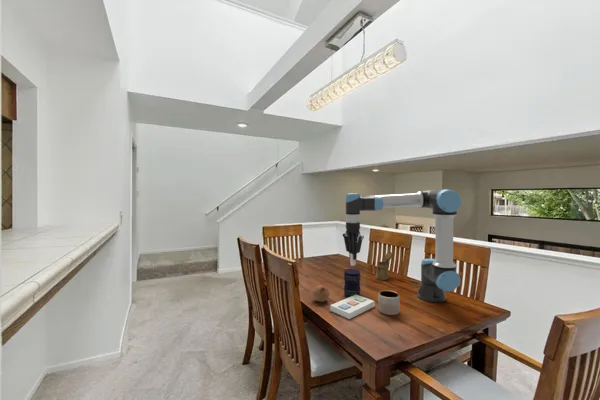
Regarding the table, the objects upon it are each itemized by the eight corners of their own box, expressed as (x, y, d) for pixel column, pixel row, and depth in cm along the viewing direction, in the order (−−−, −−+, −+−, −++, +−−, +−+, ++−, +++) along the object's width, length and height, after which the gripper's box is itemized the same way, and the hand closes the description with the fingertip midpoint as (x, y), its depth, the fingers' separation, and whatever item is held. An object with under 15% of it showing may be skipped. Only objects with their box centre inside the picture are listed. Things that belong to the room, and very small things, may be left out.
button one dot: (350, 312, 150) (350, 305, 149) (345, 314, 147) (345, 308, 146) (343, 309, 153) (343, 303, 153) (338, 311, 150) (338, 305, 150)
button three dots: (358, 308, 154) (358, 302, 154) (353, 310, 151) (353, 304, 151) (352, 305, 158) (352, 299, 158) (346, 308, 155) (346, 301, 155)
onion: (324, 308, 162) (327, 296, 157) (309, 302, 165) (312, 289, 160) (329, 296, 170) (332, 284, 165) (314, 291, 173) (317, 279, 168)
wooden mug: (395, 277, 204) (395, 253, 203) (381, 280, 198) (381, 255, 197) (386, 274, 212) (386, 250, 211) (372, 277, 206) (372, 252, 205)
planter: (396, 318, 143) (397, 299, 143) (375, 313, 149) (375, 295, 148) (401, 309, 152) (401, 292, 152) (381, 305, 158) (381, 288, 158)
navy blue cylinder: (340, 295, 173) (340, 271, 172) (349, 290, 180) (349, 267, 179) (354, 299, 166) (354, 274, 165) (363, 294, 173) (363, 271, 172)
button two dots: (366, 304, 159) (366, 298, 159) (361, 306, 156) (361, 300, 156) (359, 302, 162) (359, 296, 162) (354, 304, 159) (354, 298, 159)
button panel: (374, 306, 157) (374, 301, 157) (349, 319, 142) (349, 313, 142) (355, 299, 167) (355, 294, 166) (330, 310, 152) (330, 305, 152)
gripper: (367, 222, 149) (367, 266, 151) (347, 220, 159) (348, 261, 160) (358, 223, 144) (358, 269, 146) (339, 221, 154) (339, 264, 156)
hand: (353, 265), depth 153 cm, fingers closed
